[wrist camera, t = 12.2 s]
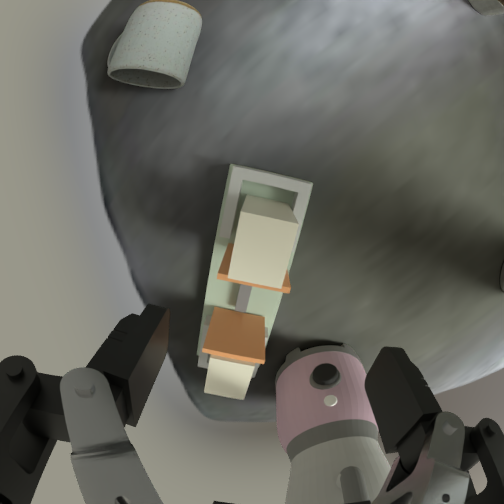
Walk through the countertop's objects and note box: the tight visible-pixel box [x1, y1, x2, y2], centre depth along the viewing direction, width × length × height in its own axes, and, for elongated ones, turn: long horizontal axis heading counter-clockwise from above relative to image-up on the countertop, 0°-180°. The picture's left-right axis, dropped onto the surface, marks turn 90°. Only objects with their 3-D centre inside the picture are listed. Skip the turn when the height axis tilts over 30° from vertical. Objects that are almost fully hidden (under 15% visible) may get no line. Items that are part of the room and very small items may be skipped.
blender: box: [275, 343, 391, 504], centre depth 20 cm, size 16×12×32 cm
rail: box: [197, 164, 313, 400], centre depth 26 cm, size 8×23×10 cm, turn 168°
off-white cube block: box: [217, 194, 299, 293], centre depth 23 cm, size 6×6×8 cm
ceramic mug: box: [107, 0, 202, 89], centre depth 19 cm, size 11×8×8 cm
